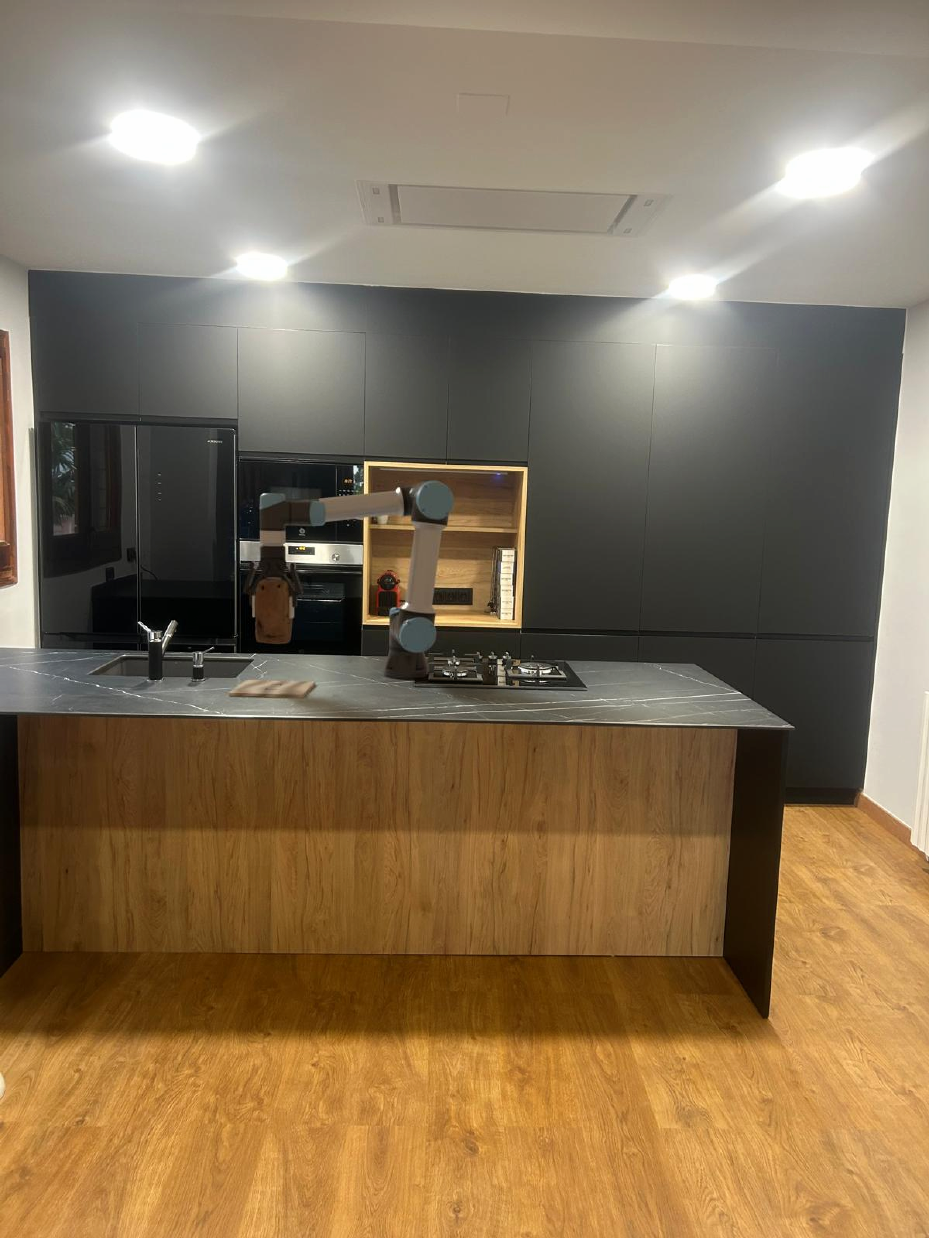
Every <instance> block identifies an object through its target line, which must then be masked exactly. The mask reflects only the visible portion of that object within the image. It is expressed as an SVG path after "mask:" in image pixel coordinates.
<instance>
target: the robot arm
mask: <svg viewBox="0 0 929 1238" xmlns="http://www.w3.org/2000/svg"><path fill="white" fill-rule="evenodd" d="M454 500H455V499H454V495H453V492H452V490H451V488H450V487H449V486H448V485H446V484H445V483H442V482H441V481H438V480H428V481H427V480H426V481H421V482H418V483H414V484H411V485H406V486H399V487H397V488H396V489H395V490H388V491H381V492H372V493H371V492H370V493H361V494H353V495H343V496H333V497H332V496H331V497H324V498H316V499H315V498H314V499H301V500H300V499H299V500H287V499H286V494H285V493H268V492H267V493H266V492H265V493H262V494H261V495H260V496H259V543H260V544H261V545H260V546H259V558H260V559H259V561H250V562H249V571H248V574H247V577H246V579H245V583H244V586H243V589H242V593H244V594H246V595H248V599H249V600H248V603H249V606H250V607H251V608H252V610H251V611H252V614H251V615H252V618H256V612H255V606H256V605H255V598H256V591H257V586H258V584H259V582H260V581H262V579H263V578H267V577H271V576H273V577H279V578H281V579H282V580H284V581H286V582H287V583H288V590H289V592H290V593H291V595H292V596H291V597H289V617H290V618H292V619H294V618H295V608H297V606H298V597H299V596H300V595H303V594H304V589H303V586H302V584H301V580H300V578H299V574H298V572H297V562H287V560H286V557H287V556H286V546H285V544H286V526H303V527H304V526H307V527H308V526H309V527H316V526H317V527H319V526H324V525H325V524H326V523H327V522H335V521H344V520H354V519H365V518H373V517H374V518H375V517H382V516H392V515H399V517H410V523H411V525H412V526H413V527H414V529H413V530H414V531H413V539H412V548H411V555H410V563H409V571H408V577H407V578H408V579H407V588H406V594H405V602H404V603H403V604H402V605H401V606H398V607H397V606H395V607H391V608H390V609H389V615H388V618H389V624H388V625H389V631H388V633H389V635H388V636H389V638H388V639H389V643H388V645H389V646H388V647H389V649H388V650H389V651H388V655H387V658H386V661H385V664H384V666H383V667H384V668H383V675H384V676H385V677H388V678H393V679H405V680H407V679H409V680H411V679H421V678H425V677H427V676H426V675H427V674H428V671H429V670H430V668H429V663H428V662H427V658H426V655H425V652H426V651H428V650H429V649H430V648H432V646H433V645H434V643H435V641H436V639H437V629H436V626H435V621H436V616H437V615H436V614H437V611H436V610H435V609H434V607H433V600H434V593H435V586H436V577H437V571H438V563H439V557H440V555H439V554H440V549H441V548H440V547H441V540H442V539H441V538H442V532H443V531H444V530H445V529H446V528H448V523H449V516H450V513H452V510H453V508H454V502H455V501H454ZM258 568H259V569H261V572H260V573H259V575H258V576H257V579H256V580H255V582H254V583H253V581H254V577H255V574H256V571H257V569H258ZM286 568H287V569H288V570H289V571H290V574H291V578H292V581H293V583H292V581H291V582H289V581H288V579H289V577H288V576H287V573H286V571H285V569H286ZM252 583H253V585H252ZM293 584H294V585H293ZM251 586H252V587H251ZM429 672H430V671H429Z"/></svg>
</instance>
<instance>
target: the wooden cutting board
mask: <svg viewBox="0 0 929 1238" xmlns="http://www.w3.org/2000/svg"><path fill="white" fill-rule="evenodd" d="M314 685H315V686H316V681H308V680H306V681H305V680H304V681H303V680H269V679H267V680H265V679H246V680H244V681H242V682H241V683H240V684H238V685H237V686H236V687H235V688H233V689H232V690H231V691H229V692H228V697H245V696H261V697H260V698H291V699H292V698H293V699H303V698H304V697H305V696H306V695H307V694H308V693H309V692H310V691H311V688H312V689H313V688H314ZM264 696H265V697H264Z"/></svg>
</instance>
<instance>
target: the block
mask: <svg viewBox="0 0 929 1238" xmlns="http://www.w3.org/2000/svg"><path fill="white" fill-rule="evenodd" d="M288 581H289V582H291V583H292V580H291V579H290V578H288ZM255 595H256V598H255V605H256V606H255V612H256V617H255V639H256V642H258V643H264V644H274V645H283V644H288V643H290V642H291V637H292V632H293V631H292V630H293V618H290V617H289V597H291V596H292V595H291V593H290V592H289V590H288V583H287V582H286V581H284V580H282V579H281V578H280V577H279V576H273V577H271V576H266V577H265V578H263V579H262V581H260V582H259V584H258V586H257V591H256V592H255Z"/></svg>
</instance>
